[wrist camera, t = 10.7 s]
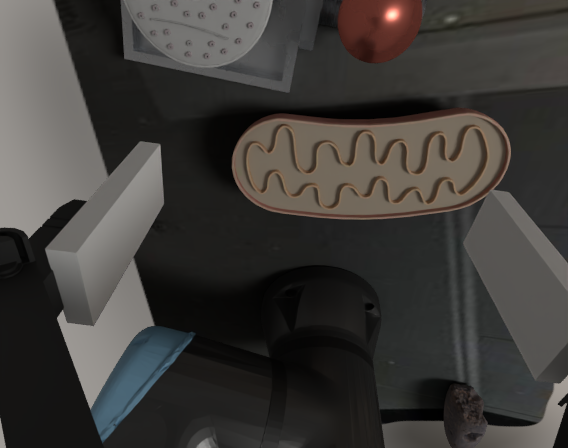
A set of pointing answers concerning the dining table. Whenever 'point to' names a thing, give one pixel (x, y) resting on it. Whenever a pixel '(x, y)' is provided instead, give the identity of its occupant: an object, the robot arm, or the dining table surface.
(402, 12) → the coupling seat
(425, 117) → the anatomical model
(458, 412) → the perforated stone tool
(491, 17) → the dining table surface
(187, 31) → the showerhead
